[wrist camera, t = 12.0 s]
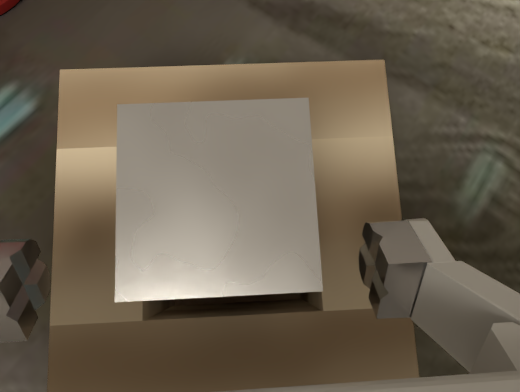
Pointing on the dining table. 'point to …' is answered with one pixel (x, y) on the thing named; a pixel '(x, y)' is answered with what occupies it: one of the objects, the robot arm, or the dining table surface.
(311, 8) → the dining table surface
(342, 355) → the frame
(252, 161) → the grey square peg
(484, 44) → the dining table surface
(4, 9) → the canned food
